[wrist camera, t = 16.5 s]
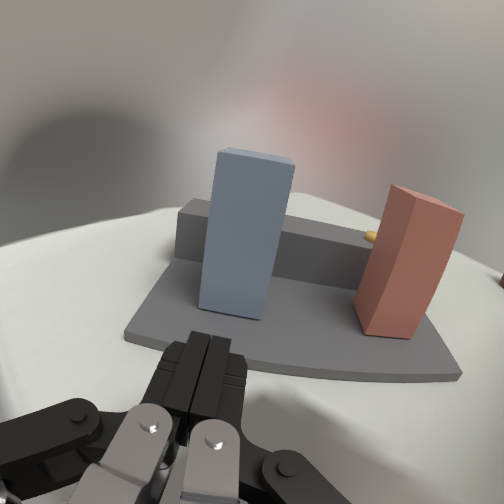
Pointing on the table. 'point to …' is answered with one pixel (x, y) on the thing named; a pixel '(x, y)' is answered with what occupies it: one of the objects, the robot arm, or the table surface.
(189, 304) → the console
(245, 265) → the blue key
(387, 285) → the red key
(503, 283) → the tissue box cover
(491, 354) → the table surface
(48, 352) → the table surface
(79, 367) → the table surface
